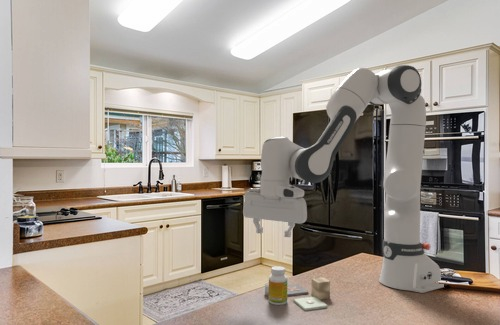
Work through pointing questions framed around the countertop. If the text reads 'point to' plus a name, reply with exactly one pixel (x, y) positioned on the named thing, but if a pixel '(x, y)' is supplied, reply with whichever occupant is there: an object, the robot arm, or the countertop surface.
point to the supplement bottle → (278, 286)
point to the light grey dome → (267, 289)
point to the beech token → (320, 288)
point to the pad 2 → (310, 303)
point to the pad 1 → (295, 290)
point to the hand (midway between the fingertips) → (273, 235)
